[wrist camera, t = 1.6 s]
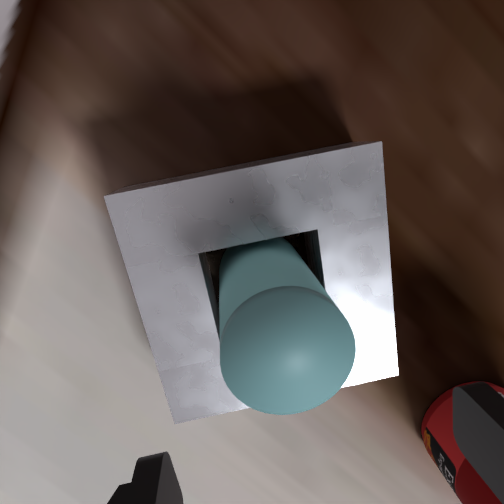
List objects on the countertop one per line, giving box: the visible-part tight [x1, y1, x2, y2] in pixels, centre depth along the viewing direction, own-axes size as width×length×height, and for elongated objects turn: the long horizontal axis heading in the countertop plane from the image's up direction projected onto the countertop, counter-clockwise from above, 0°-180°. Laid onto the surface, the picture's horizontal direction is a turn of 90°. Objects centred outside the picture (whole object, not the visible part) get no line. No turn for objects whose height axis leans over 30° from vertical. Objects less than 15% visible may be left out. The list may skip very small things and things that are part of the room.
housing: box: [104, 141, 398, 424], centre depth 22 cm, size 14×14×4 cm
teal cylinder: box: [219, 237, 356, 415], centre depth 19 cm, size 5×5×10 cm
